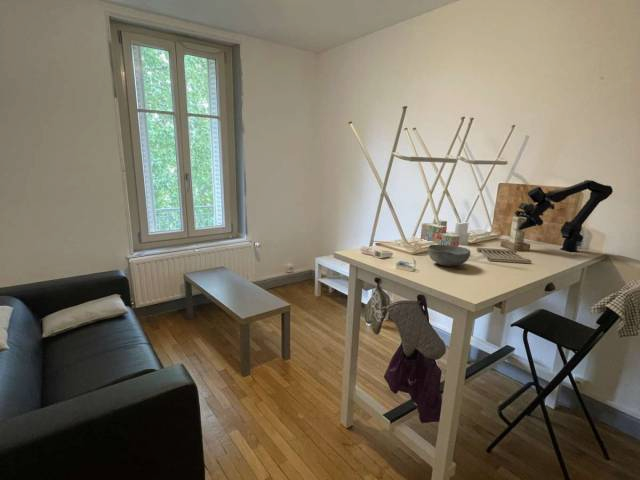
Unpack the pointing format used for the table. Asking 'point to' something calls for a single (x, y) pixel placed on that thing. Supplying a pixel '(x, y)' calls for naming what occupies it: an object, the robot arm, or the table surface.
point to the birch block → (517, 230)
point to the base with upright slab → (462, 232)
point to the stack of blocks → (438, 235)
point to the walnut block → (515, 245)
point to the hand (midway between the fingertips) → (515, 228)
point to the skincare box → (441, 222)
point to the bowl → (448, 254)
